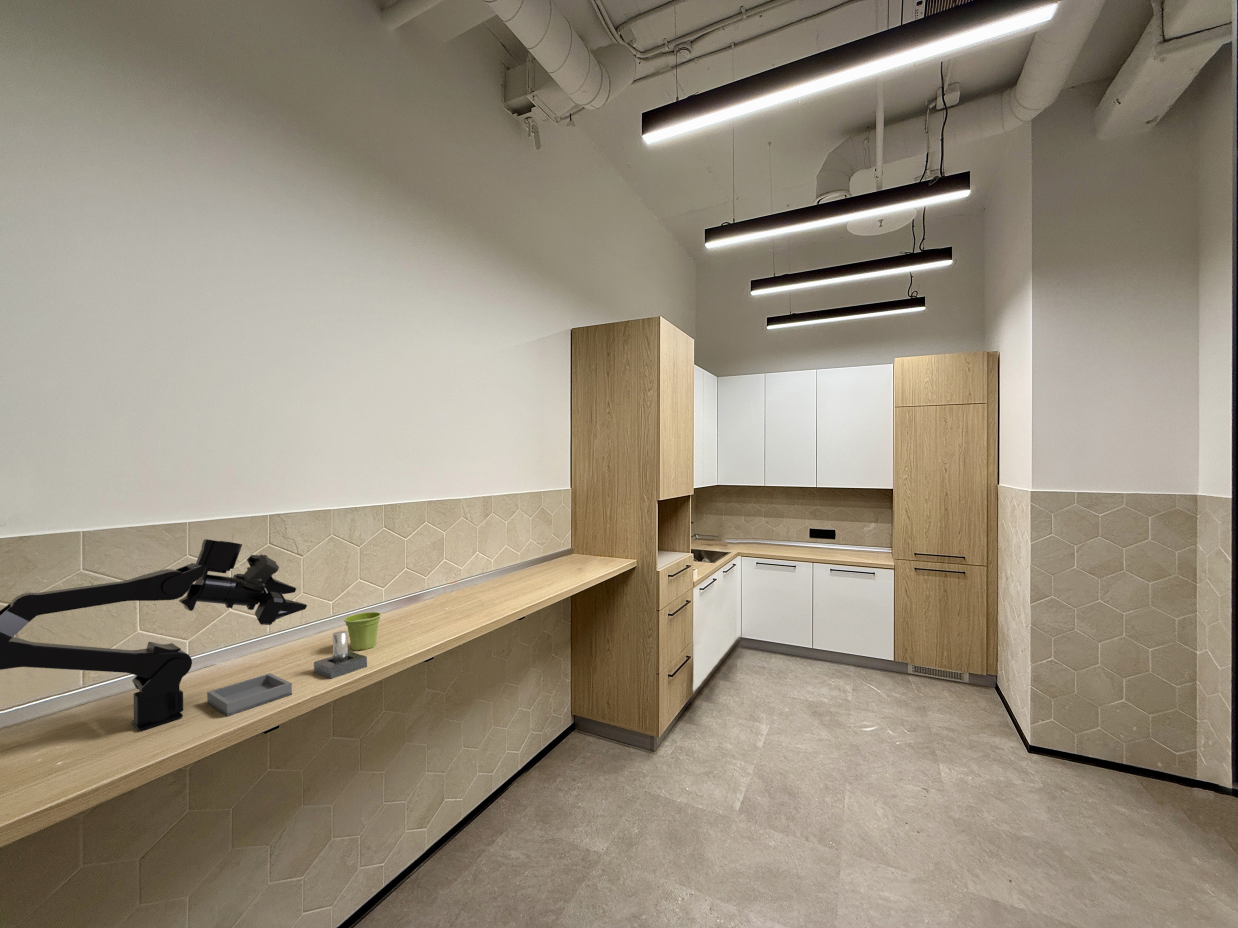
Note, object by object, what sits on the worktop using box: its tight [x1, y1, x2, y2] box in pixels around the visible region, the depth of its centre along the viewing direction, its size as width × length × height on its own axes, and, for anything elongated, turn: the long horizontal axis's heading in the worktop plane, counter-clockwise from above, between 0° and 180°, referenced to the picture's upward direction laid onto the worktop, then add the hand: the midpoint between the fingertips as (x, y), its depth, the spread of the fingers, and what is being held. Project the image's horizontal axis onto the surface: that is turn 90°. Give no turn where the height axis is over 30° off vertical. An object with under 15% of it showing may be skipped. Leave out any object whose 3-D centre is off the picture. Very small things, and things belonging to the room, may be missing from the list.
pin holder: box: [313, 650, 368, 679], centre depth 122 cm, size 9×9×2 cm
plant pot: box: [343, 611, 382, 651], centre depth 139 cm, size 9×9×9 cm
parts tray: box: [206, 672, 293, 717], centre depth 107 cm, size 12×12×2 cm
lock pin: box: [332, 630, 349, 664], centre depth 123 cm, size 3×3×9 cm
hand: (300, 598), depth 120 cm, fingers open, 9 cm apart
